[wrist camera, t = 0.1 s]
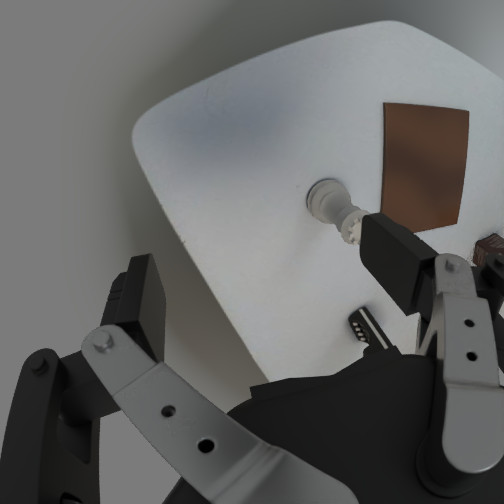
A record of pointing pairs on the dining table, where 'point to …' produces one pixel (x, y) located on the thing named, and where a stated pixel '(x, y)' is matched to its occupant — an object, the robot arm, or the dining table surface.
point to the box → (488, 248)
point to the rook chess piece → (336, 209)
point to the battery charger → (369, 331)
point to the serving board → (423, 165)
